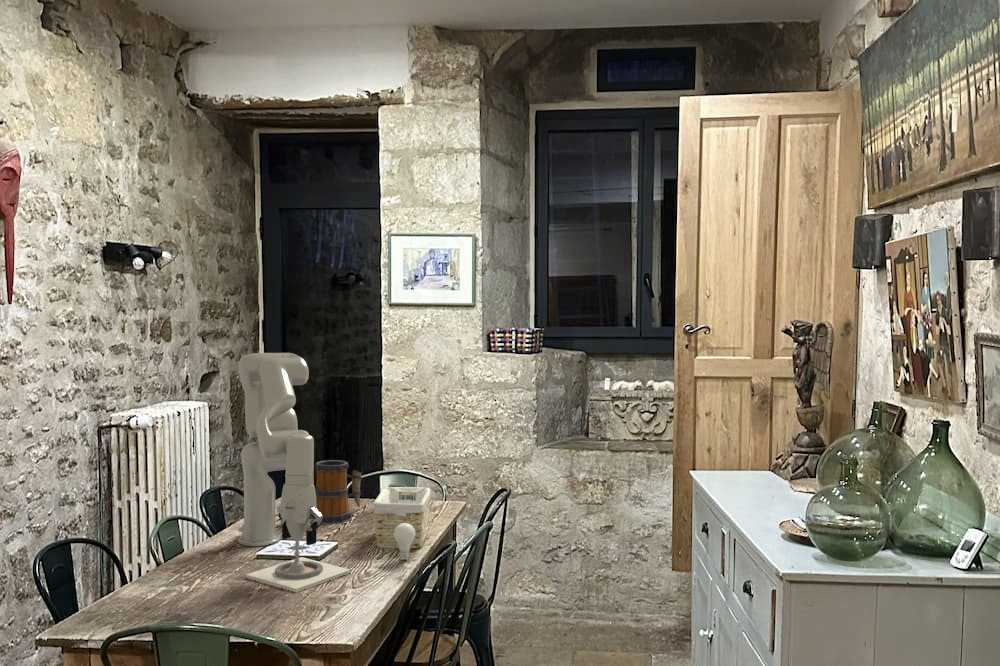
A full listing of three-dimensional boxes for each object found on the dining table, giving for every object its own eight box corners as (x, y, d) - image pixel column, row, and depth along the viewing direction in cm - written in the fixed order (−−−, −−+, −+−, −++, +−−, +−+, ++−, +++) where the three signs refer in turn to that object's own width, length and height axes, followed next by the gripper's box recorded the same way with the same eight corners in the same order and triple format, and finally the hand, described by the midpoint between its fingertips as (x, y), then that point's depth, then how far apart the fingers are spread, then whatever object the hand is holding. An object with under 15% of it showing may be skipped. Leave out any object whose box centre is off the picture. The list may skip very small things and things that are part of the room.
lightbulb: (393, 557, 245) (394, 520, 244) (415, 557, 245) (415, 520, 245) (392, 563, 238) (393, 526, 238) (414, 563, 239) (415, 525, 239)
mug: (349, 510, 303) (350, 456, 302) (371, 517, 292) (372, 461, 292) (302, 518, 290) (303, 462, 289) (323, 526, 279) (324, 468, 279)
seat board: (245, 578, 224) (245, 570, 224) (301, 560, 240) (301, 553, 240) (296, 592, 213) (296, 584, 213) (351, 573, 229) (351, 565, 229)
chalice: (302, 575, 223) (303, 509, 222) (279, 573, 224) (279, 508, 224) (313, 567, 230) (314, 503, 230) (291, 565, 231) (291, 502, 231)
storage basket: (423, 550, 252) (424, 503, 252) (371, 549, 253) (371, 502, 252) (431, 530, 276) (432, 486, 276) (383, 529, 277) (384, 486, 276)
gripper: (267, 477, 228) (267, 538, 228) (311, 486, 218) (310, 549, 219) (288, 473, 234) (288, 533, 234) (331, 481, 224) (331, 543, 225)
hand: (299, 541), depth 226 cm, fingers open, 9 cm apart
